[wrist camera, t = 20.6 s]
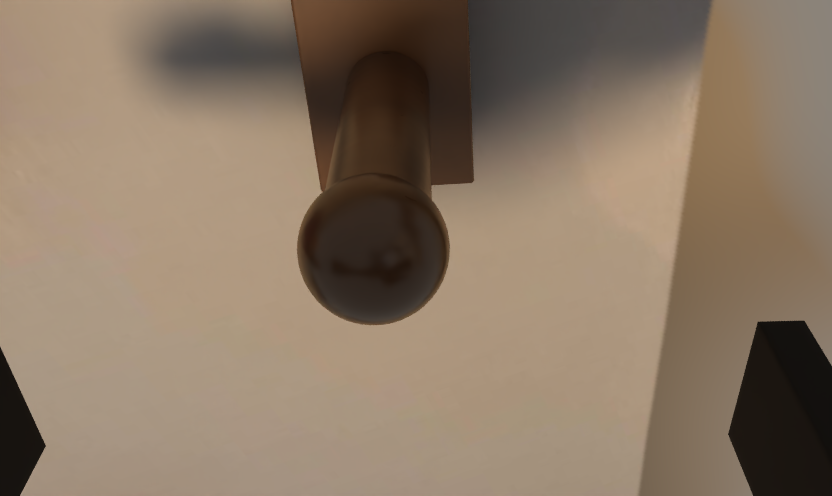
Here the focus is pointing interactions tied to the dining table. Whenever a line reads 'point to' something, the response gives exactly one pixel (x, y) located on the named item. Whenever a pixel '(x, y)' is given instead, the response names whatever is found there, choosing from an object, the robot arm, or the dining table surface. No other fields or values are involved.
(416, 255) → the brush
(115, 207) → the dining table surface
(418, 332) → the dining table surface
